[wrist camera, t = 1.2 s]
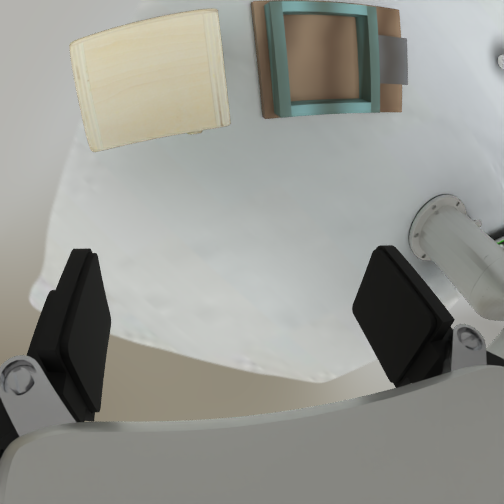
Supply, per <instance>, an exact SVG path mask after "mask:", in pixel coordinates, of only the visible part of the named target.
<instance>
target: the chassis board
mask: <svg viewBox="0 0 504 504" xmlns="http://www.w3.org/2000/svg"><path fill="white" fill-rule="evenodd" d="M251 9H252V18H253V27H254V36H255V45H256V54H257V64H258V74H259V84H260V94H261V104H262V115H263V117H264V118H265V119H270V118H279V117H280V118H283V117H294V116H306V115H321V114H340V113H380V112H402V85H408V66H407V39H406V38H401V31H400V16H399V10H396V9H391V8H384V7H378V6H370V5H362V4H353V3H343V2H329V1H307V0H272V1H253V2H252V3H251Z"/></svg>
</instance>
